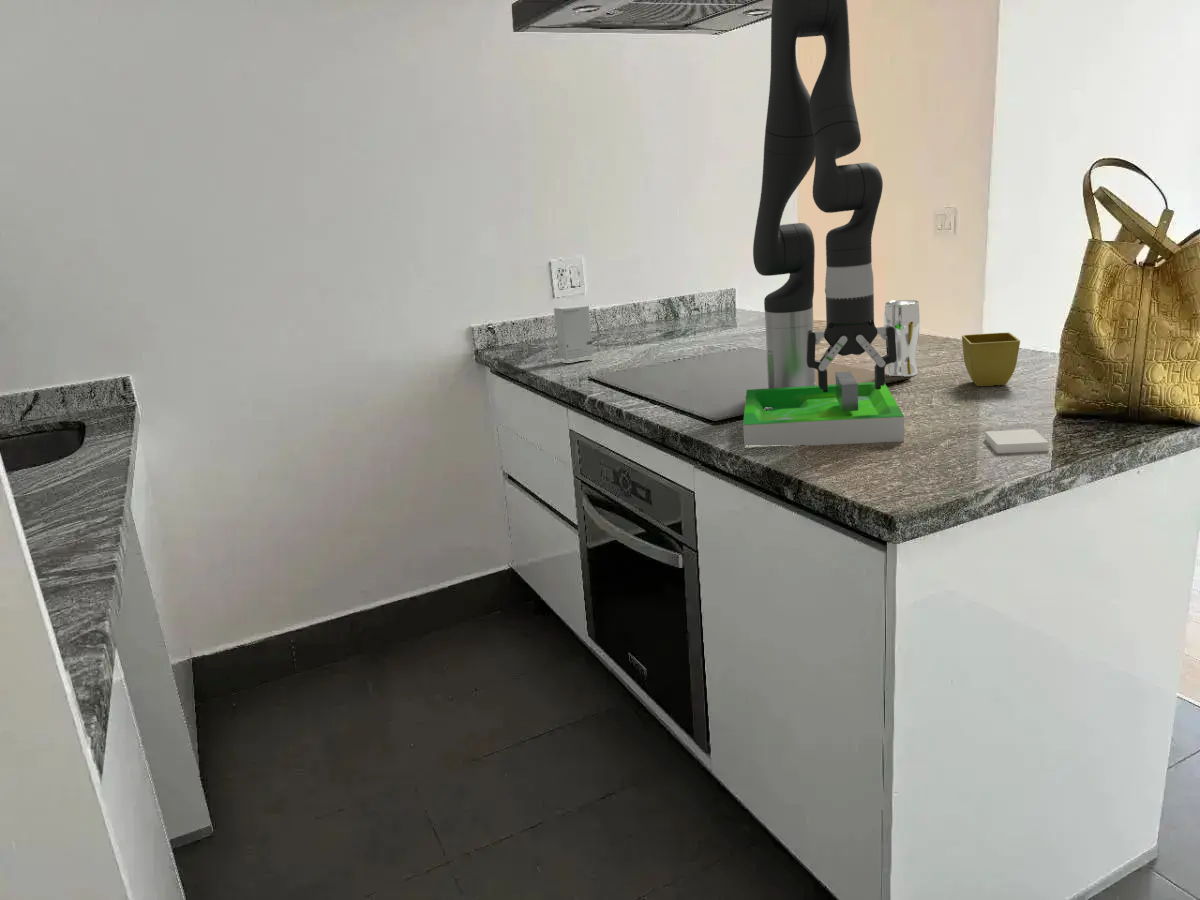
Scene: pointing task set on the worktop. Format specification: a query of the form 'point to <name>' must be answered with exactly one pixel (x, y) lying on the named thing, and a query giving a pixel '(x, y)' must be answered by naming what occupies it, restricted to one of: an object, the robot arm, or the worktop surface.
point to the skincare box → (573, 331)
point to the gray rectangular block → (846, 391)
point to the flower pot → (990, 357)
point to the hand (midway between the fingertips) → (851, 389)
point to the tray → (820, 417)
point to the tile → (1016, 441)
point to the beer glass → (903, 335)
